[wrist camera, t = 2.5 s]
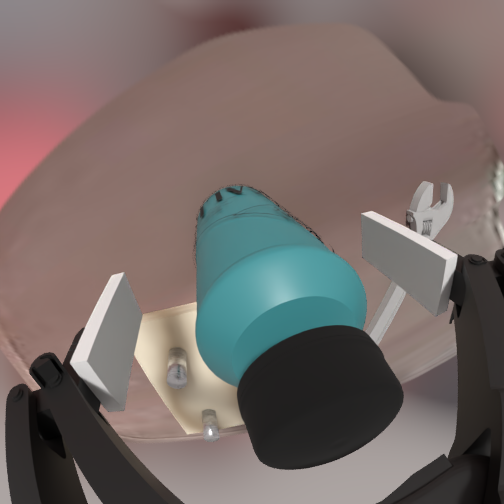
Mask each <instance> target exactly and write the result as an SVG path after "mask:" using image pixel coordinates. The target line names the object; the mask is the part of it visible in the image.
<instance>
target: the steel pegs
mask: <svg viewBox="0 0 504 504" xmlns="http://www.w3.org/2000/svg"><path fill="white" fill-rule="evenodd" d="M167 384H168V385H169V386H170V387H172V388H174V389H181V388H184V387H185V386H186V385H187V353H186V351H185V350H184V349H183V348H180V347H174V348H171V349H170V350H169V357H168V371H167ZM202 423H203V434H204V440H205V441H208V442H214V441H217V440H219V431H218V424H217V416H216V411H215V410H213V409H205V410H203V411H202Z"/></svg>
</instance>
